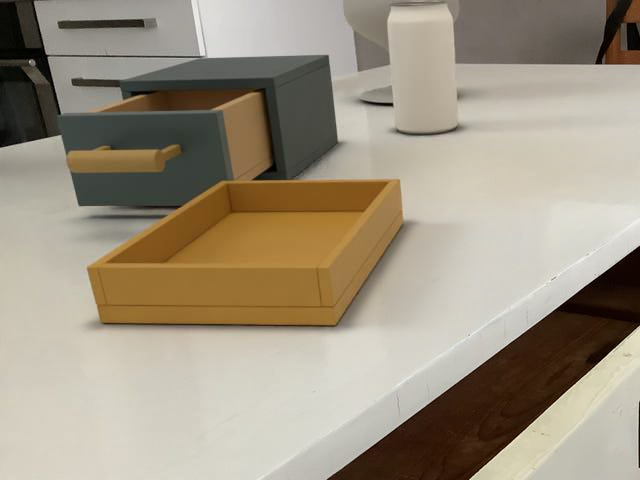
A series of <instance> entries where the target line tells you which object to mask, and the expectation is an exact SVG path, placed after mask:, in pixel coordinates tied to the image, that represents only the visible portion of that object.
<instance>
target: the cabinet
mask: <svg viewBox="0 0 640 480" xmlns="http://www.w3.org/2000/svg"><path fill="white" fill-rule="evenodd" d="M329 55H330V54H308V55H307V54H305V55H302V54H301V55H270V56H269V55H267V56H265V55H263V56H234V57H233V56H231V57H229V56H228V57H200V58H196V59H193V60H189V61H185V62H181V63H178V64H175V65H172V66H168V67H165V68H161V69H157V70H154V71H150V72H146V73H143V74H139V75H135V76H133V77H128V78H125V79H122V80H119V81H118V83H119V89H120V92H121V98H122V101H123V100H126V99H129V98H132V97H135V96H138V95H141V94H144V93H147V92H150V91H173V90H216V89H259V88H266V89H265V90H266V97H267V104H268V111H269V118H270V125H271V132H272V139H273V146H274V153H275V160H276V163H275V164H274V165H272V166H271V167H269V168H268V169H267V170H265V171H264V172H262V173H261V174H259V175H258V176H256V177H255V178H254V179H252V180H251V181H260V180H293V178H295V177H296V176H297V175H298V174H300V173H301V172H303V171H304V170H305V169H307V168H308V167H309V166H310V165H311V164H313V163H314V162H315V161H317V160H318V159H319V158H321V156H323V155H324V154H325V153H327V152H328V151H330V149H332V148H333V147H335V146H336V145H337V144H339V135H338V127H337V119H336V118H337V117H336V109H335V101H334V91H333V81H332V72H331V64H330V63H331V62H330V56H329Z"/></svg>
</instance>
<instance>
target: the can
mask: <svg viewBox="0 0 640 480" xmlns="http://www.w3.org/2000/svg"><path fill="white" fill-rule="evenodd" d="M447 3H448V1H411V2H398V3H391V4H390V6H391V11H390V14H389V17H388V20H387V28H388V42H389V52H388V55H389V66H390V78H391V80H390V81H391V85H392V93H393V103H392V105H393V114H394V124H395V128H396V129H397V131H398V132H400V133H402V134H407V135H433V134H434V135H436V134H442V133H448V132H450V131H453V130H455V129H456V127H457V126H458V124H459V115H458V114H459V111H458V108H459V107H458V89H457V68H456V50H455V49H456V47H455V31H454V30H455V29H454V24H453V18H452V15H451V13H450V11H449V9H448V7H447Z"/></svg>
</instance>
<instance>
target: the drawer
mask: <svg viewBox="0 0 640 480" xmlns="http://www.w3.org/2000/svg"><path fill="white" fill-rule="evenodd" d="M265 89H266V88H259V89H216V90H173V91H150V92H147V93H144V94H141V95H138V96H135V97H132V98H129V99H126V100H123V99H122V100H120V101H116V102H113V103H110V104H107V105H105V106H102V107H98V108H95V109H92V110H89V111H87V112H65V113H62V114H58V115H56V120H57V124H58V129H59V133H60V137H61V141H62V146H63V148H64V153H65V157H66V165H67V168H68V170H69V173H70V177H71V181H72V184H73V189H74V193H75V198H76V200H77V205H78V206H79V207H169V206H171V207H177V206H179V207H182V206H183V205H185V204H186V203H188V202H190V201H191V200H193V199H194V198H196V197H197V196H199V195H201V194H202V193H204V192H205V191H207V190H208V189H210V188H212V187H213V186H215V185H216V184H218V183H219V182H221V181H251V180H252V179H254V178H255V177H256V176H258V175H259V174H261V173H262V172H264V171H265V170H267V169H268V168H269V167H271V166H272V165H274V164H275V163H276V160H275V153H274V146H273V139H272V132H271V125H270V118H269V111H268V104H267V97H266V90H265Z"/></svg>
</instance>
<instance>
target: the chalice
mask: <svg viewBox="0 0 640 480" xmlns="http://www.w3.org/2000/svg"><path fill="white" fill-rule="evenodd" d="M411 1H448V3H447V7H448V9H449V11H450V13H451V15H452V18H453V25H454V24H455V22H456V21H457V19H458V17H459V13H460V7H461V5H460V0H342V9H343V16H344V18H345V20H346V23H347V24H348V25H349V27H350V28H351V29H352V30H353V31H355V32H356V33H357V34H358V35H361V36H362V37H364V38H366V39H367V40H369V41H371V42H373V43H374V44H376V45H378V46H379V47H380V48H382V49H384V50H385V51H386V52H388V53H389V42H388V28H387V20H388V17H389V14H390V11H391V6H390V4H391V3H398V2H411ZM358 99H360V100H362V101H365V102H369V103H370V102H371V103H377V104H378V103H379V104H393V93H392V84H390V85H388V86H385V87H379V88H374V89H371V90H368V91H365V92H363V93H361V94H360V95H359V97H358Z"/></svg>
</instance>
